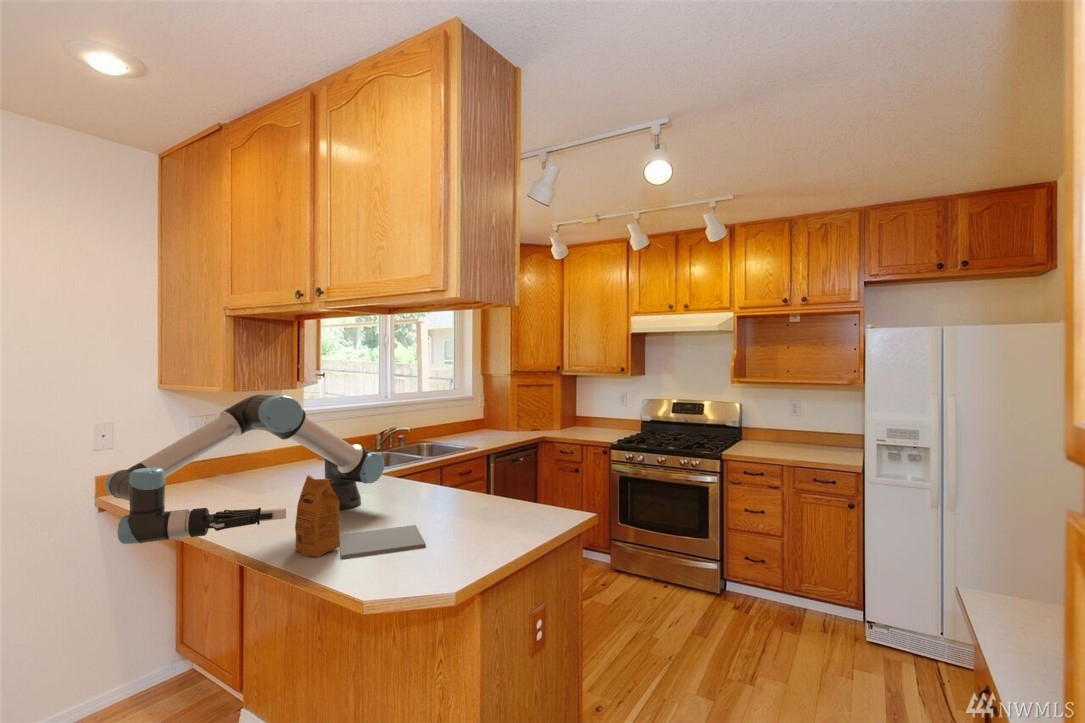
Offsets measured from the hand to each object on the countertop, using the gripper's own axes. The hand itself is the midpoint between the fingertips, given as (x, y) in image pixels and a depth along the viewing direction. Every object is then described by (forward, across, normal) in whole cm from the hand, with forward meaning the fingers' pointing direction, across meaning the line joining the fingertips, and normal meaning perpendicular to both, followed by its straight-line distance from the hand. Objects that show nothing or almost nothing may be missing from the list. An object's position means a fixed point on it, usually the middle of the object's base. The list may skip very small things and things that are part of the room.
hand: (285, 513), depth 151 cm
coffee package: (+8, 0, -12) cm, 15 cm away
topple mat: (+27, 0, -12) cm, 29 cm away
